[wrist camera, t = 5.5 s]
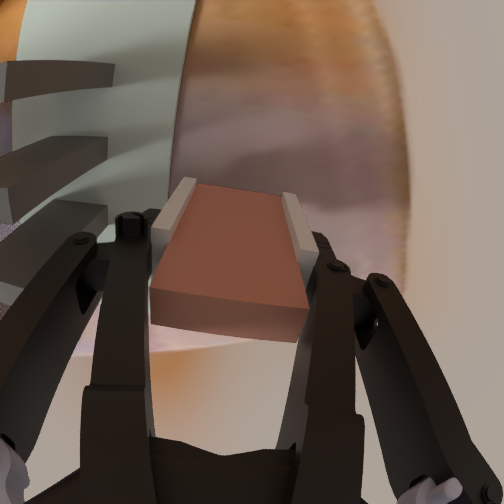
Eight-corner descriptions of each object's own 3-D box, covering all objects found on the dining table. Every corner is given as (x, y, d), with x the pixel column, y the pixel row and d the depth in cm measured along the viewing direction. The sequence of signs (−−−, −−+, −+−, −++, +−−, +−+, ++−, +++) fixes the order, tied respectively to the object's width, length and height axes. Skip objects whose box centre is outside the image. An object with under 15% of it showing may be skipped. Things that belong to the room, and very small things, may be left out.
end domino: (274, 219, 19) (296, 342, 10) (194, 207, 18) (150, 323, 10) (280, 196, 18) (309, 309, 9) (197, 183, 17) (148, 287, 9)
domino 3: (108, 225, 20) (37, 315, 12) (55, 217, 20) (-22, 293, 11) (107, 205, 19) (29, 290, 11) (53, 198, 19) (-30, 270, 10)
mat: (165, 314, 25) (164, 317, 25) (37, 285, 24) (35, 287, 24) (214, -64, 10) (213, -66, 10) (41, -35, 9) (39, -36, 8)
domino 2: (107, 159, 18) (13, 224, 9) (51, 156, 17) (-46, 214, 9) (108, 136, 17) (7, 188, 8) (51, 135, 17) (-51, 184, 8)
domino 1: (112, 87, 15) (4, 102, 7) (53, 90, 15) (-56, 116, 6) (115, 63, 14) (7, 61, 6) (55, 69, 14) (-55, 83, 5)
